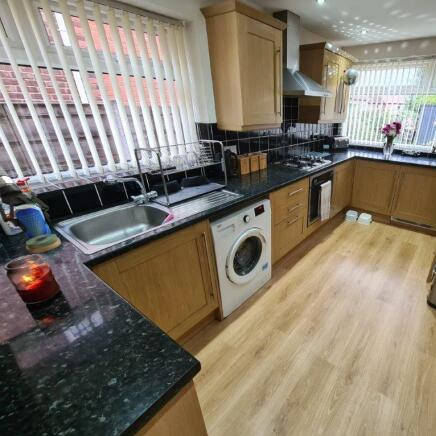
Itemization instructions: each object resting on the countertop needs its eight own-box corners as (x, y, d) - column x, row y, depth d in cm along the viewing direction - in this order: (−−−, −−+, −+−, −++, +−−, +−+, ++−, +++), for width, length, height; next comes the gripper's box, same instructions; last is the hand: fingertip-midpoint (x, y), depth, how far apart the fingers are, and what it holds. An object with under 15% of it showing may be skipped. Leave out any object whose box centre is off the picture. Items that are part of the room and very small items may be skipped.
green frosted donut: (20, 254, 104) (16, 246, 102) (41, 241, 114) (37, 233, 112) (49, 252, 105) (45, 244, 103) (67, 239, 115) (63, 232, 113)
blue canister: (26, 243, 112) (10, 211, 105) (29, 236, 118) (13, 205, 111) (51, 237, 117) (37, 206, 110) (52, 231, 123) (39, 201, 116)
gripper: (35, 187, 124) (64, 222, 124) (-27, 200, 106) (6, 240, 107) (36, 178, 119) (66, 214, 120) (-29, 190, 102) (6, 232, 102)
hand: (38, 226), depth 113 cm, fingers closed on blue canister, 8 cm apart
